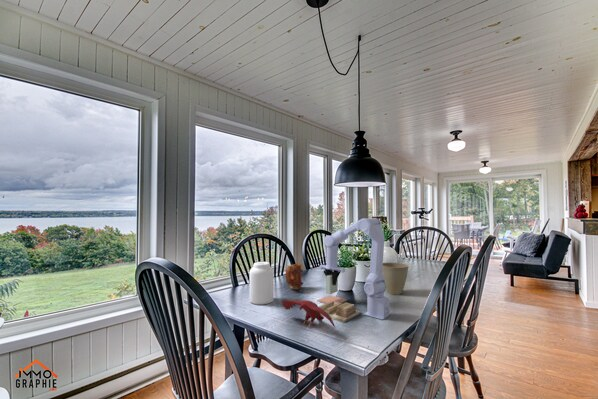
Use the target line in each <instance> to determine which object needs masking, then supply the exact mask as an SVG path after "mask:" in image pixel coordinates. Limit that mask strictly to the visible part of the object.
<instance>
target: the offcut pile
mask: <svg viewBox="0 0 598 399" xmlns="http://www.w3.org/2000/svg"><path fill="white" fill-rule="evenodd" d="M356 310H357V308H356V307H355V304H353V303H349V302H343V303H342V305H340V306H338V307H337V311H336V315H337V316H341V317H344V318H346V317H348V316H350V315H351V314H353V313H355V312H356Z"/></svg>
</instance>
